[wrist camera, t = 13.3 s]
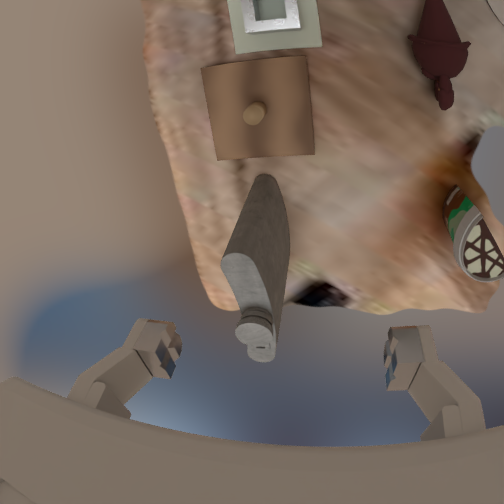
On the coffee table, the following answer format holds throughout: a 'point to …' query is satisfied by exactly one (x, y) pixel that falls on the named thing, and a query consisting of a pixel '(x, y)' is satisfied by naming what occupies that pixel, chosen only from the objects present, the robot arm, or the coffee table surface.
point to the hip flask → (259, 267)
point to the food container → (472, 239)
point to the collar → (270, 26)
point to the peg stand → (260, 108)
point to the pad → (271, 9)
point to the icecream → (439, 50)
